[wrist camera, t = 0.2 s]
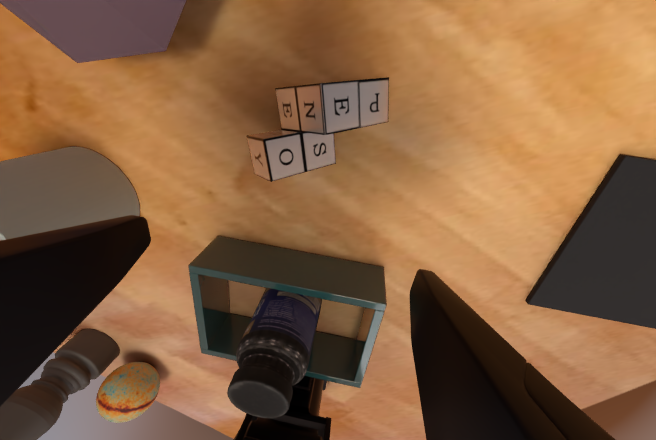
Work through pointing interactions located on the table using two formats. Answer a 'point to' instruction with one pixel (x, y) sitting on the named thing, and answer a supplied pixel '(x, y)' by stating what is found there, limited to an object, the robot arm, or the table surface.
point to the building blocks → (316, 124)
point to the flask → (101, 25)
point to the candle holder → (56, 385)
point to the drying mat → (609, 251)
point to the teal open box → (295, 277)
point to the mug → (61, 192)
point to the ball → (128, 392)
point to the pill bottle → (274, 353)
